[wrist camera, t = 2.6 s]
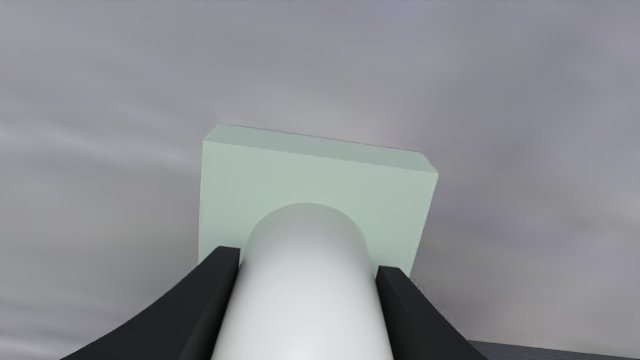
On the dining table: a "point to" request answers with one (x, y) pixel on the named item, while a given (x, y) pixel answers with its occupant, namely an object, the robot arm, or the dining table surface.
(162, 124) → the dining table surface
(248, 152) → the pale green block
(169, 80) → the dining table surface
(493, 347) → the hole plate
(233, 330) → the barrel peg
